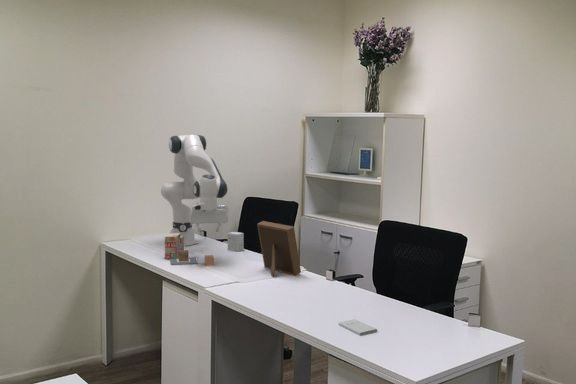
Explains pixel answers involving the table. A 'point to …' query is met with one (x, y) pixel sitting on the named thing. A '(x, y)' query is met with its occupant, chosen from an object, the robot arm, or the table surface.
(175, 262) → the grey flat square plate
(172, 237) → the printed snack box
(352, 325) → the external hard drive
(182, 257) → the walnut block
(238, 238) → the small box
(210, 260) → the terracotta block
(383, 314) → the table surface
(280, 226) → the photo frame
